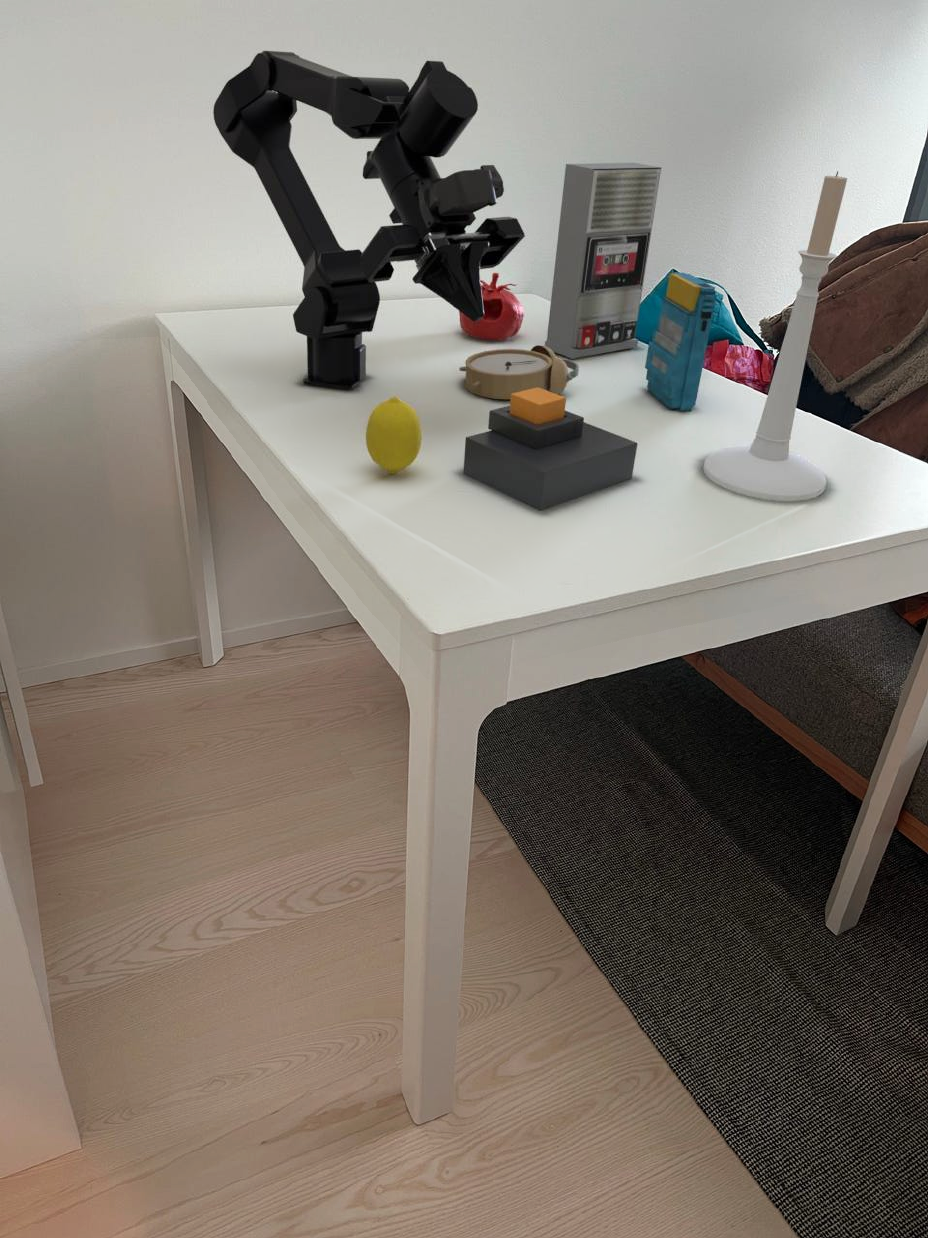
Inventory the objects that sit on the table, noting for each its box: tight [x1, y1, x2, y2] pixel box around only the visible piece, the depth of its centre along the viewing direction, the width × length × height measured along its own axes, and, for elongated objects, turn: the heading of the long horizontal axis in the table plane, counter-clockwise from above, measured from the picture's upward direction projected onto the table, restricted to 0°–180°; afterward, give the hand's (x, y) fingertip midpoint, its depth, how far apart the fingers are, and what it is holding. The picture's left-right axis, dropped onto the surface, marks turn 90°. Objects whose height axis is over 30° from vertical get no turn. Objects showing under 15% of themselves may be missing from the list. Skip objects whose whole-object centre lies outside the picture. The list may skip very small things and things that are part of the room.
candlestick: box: [702, 170, 848, 502], centre depth 94 cm, size 13×13×30 cm
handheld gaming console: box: [644, 271, 717, 413], centre depth 119 cm, size 10×4×15 cm, turn 12°
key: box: [509, 387, 567, 425], centre depth 96 cm, size 4×4×2 cm
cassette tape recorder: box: [544, 162, 662, 360], centre depth 135 cm, size 14×6×25 cm, turn 129°
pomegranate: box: [458, 272, 525, 341], centre depth 142 cm, size 10×10×9 cm
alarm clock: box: [459, 344, 580, 400], centre depth 122 cm, size 11×5×15 cm
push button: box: [462, 405, 638, 512], centre depth 97 cm, size 12×14×6 cm
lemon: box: [365, 396, 423, 475], centre depth 94 cm, size 6×6×8 cm
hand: (479, 319), depth 98 cm, fingers closed
